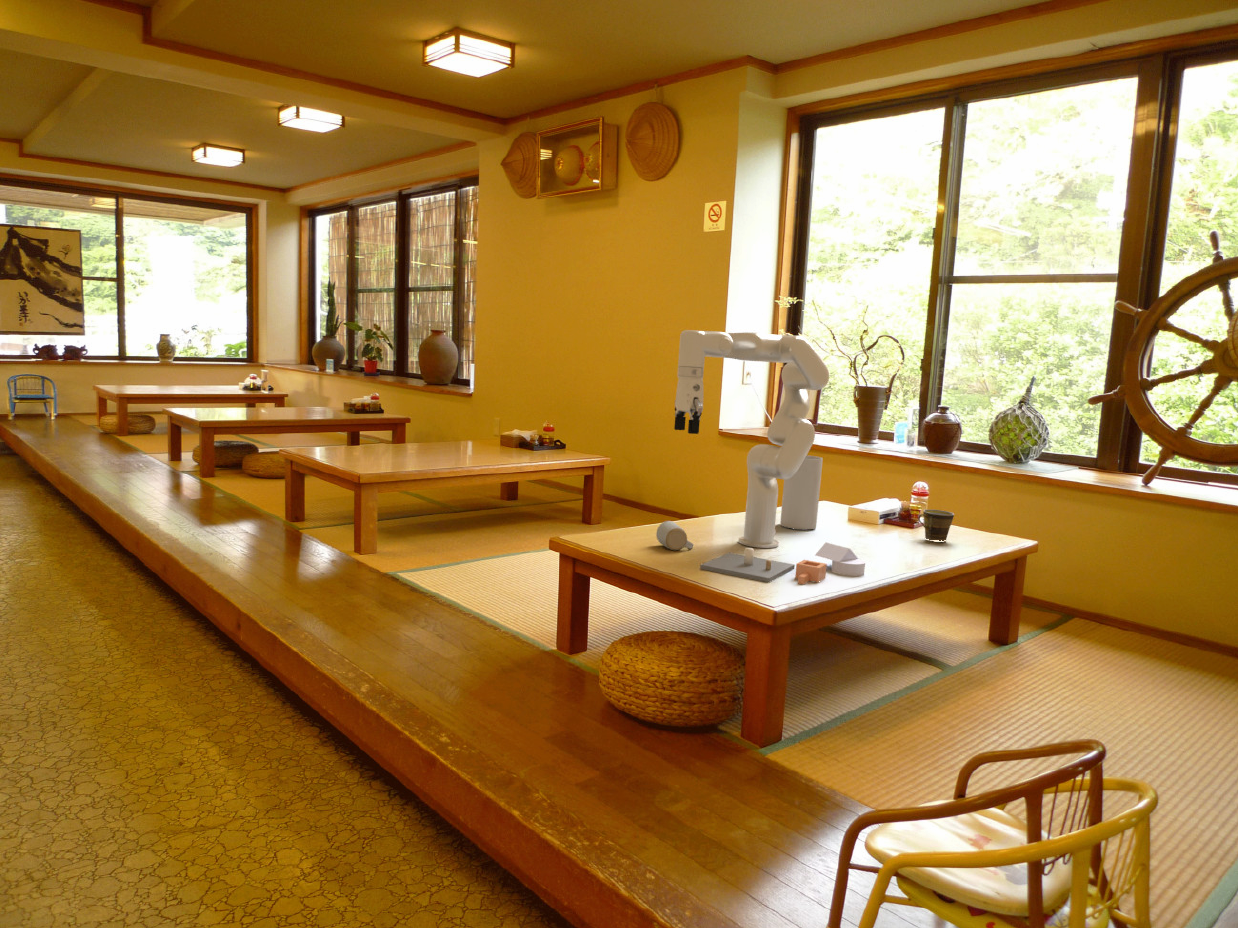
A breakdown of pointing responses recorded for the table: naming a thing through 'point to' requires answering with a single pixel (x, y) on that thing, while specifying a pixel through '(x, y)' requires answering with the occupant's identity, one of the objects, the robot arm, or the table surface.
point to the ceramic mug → (672, 536)
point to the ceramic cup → (936, 524)
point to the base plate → (747, 566)
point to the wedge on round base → (842, 560)
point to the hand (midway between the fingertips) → (686, 431)
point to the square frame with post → (810, 571)
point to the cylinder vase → (802, 495)
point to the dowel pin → (768, 564)
